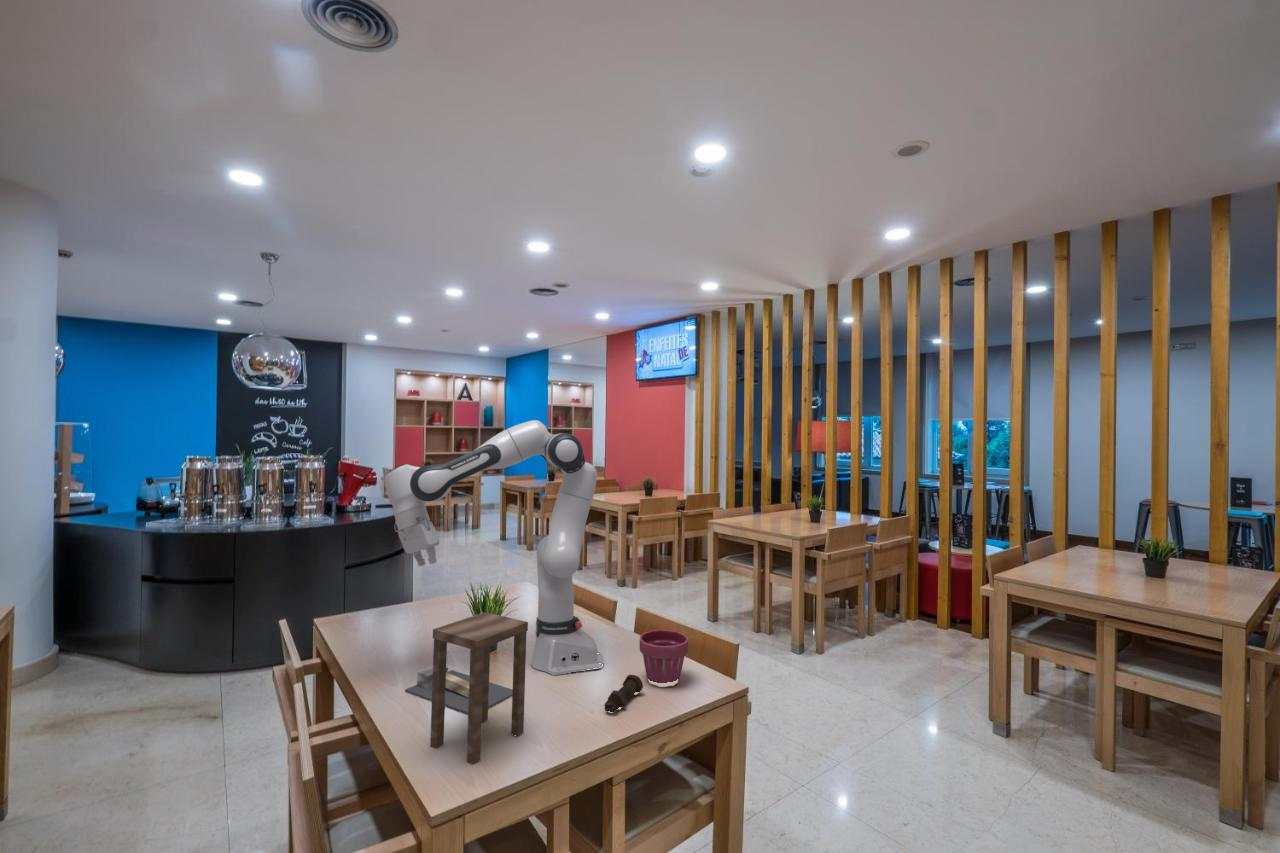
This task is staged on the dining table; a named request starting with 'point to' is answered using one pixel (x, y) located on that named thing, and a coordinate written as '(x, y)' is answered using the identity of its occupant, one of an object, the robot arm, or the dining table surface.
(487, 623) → the stool
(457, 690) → the hammer
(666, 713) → the dining table surface
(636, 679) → the bolt
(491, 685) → the mat
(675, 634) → the plant pot
